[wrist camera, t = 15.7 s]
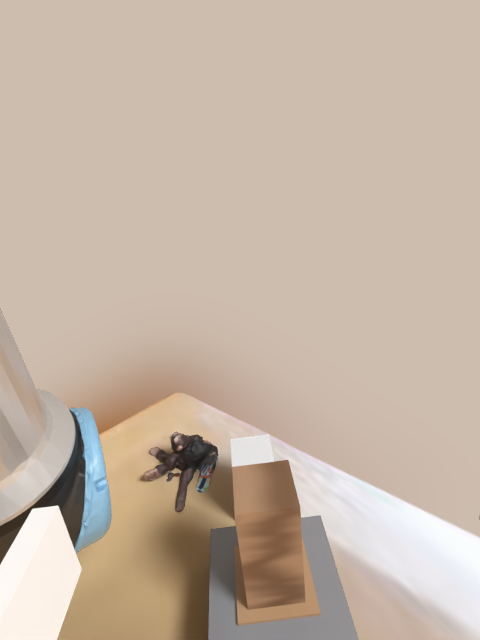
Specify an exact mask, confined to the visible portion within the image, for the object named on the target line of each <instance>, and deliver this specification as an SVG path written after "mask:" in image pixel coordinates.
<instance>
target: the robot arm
mask: <svg viewBox="0 0 480 640" xmlns="http://www.w3.org/2000/svg"><path fill="white" fill-rule="evenodd" d="M111 516H112V513H111V500H110V493H109V487H108V483H107V480H106V469H105V462H104V457H103V452H102V447H101V443H100V438H99V434H98V430H97V426H96V423H95V420H94V417H93V414H92V413H91V411H90V410H89V409H86V408H78V409H76V408H71V409H68V408H67V406H66V405H65V403H64V402H63V401H61V400H60V399H59V398H58V397H56V396H55V395H53V394H51V393H49V392H46V391H44V390H40V389H36V388H35V386H34V383H33V381H32V379H31V377H30V374H29V372H28V370H27V368H26V365H25V363H24V361H23V359H22V356H21V354H20V352H19V350H18V347H17V345H16V343H15V341H14V338H13V336H12V334H11V332H10V330H9V327H8V325H7V323H6V320H5V318H4V316H3V314H2V311H1V309H0V640H57V638H58V635H59V632H60V629H61V627H62V624H63V621H64V618H65V615H66V613H67V610H68V607H69V604H70V601H71V598H72V596H73V593H74V590H75V587H76V584H77V582H78V579H79V576H80V573H81V570H82V568H81V566H80V563H79V560H78V558H77V555H76V554H77V552H79V550H81V549H83V548H85V547H86V546H88V545H90V544H92V543H94V542H96V541H98V540H99V539H101V538H102V537H103V536H104V535H105V534H106V532H107V531H108V529H109V527H110V524H111ZM479 520H480V516H479Z"/></svg>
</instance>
